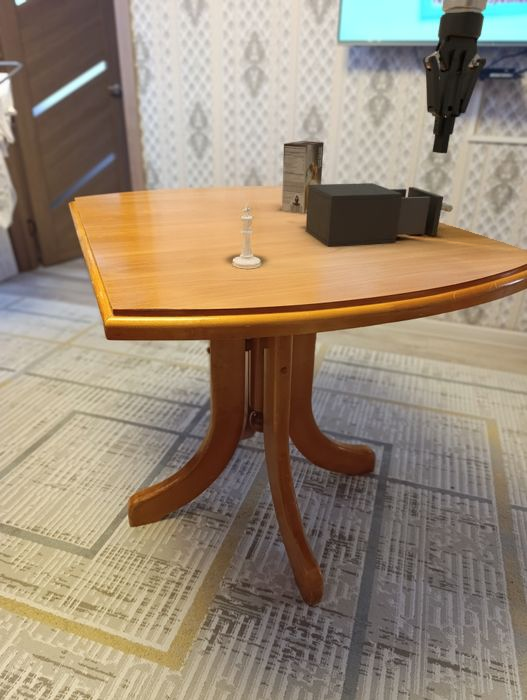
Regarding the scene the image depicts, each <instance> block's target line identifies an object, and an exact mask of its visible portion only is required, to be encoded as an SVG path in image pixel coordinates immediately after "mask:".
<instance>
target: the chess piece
mask: <svg viewBox="0 0 527 700" xmlns="http://www.w3.org/2000/svg"><path fill="white" fill-rule="evenodd" d="M252 211H253V208H251V207H250V204H245V206H244V208H242V213H244V215H242V216H240V220H241V223H242V227H243V229H241V230H240V234H243V241H242V248H241V249H242V250H241V253H240V254H239V256H236V257H234V258H233V259H232V263H231V265H232V266H233V267H235V268H238V269H245V270H246V269H247V270H248V269H256V268H259V267H261V266H262V263H261V261H262V260H261V259H260V258H259V257H256V256H254V253H252V245H251V236H250V235H251V234H254V230H253V229H251V226H252V224H253V223H252V222H253V220H254V217H253V216H252V215H250V212H252Z"/></svg>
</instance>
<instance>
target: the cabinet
mask: <svg viewBox="0 0 527 700" xmlns="http://www.w3.org/2000/svg"><path fill="white" fill-rule="evenodd" d="M390 189H391V188H387V187H384V186H382V185H379V184H376V183H373V182H371V183H369V182H367V183H364V182H363V183H362V182H361V183H329V184H328V183H325V184H322V183H321V184H320V185H309V187H308V204H307V213H306V221H305V232H307V233H308V234H309V235H311V236H312V237H314V238H315V239H317V240H318V241H319V242H321V243H322V244H323V245H324V246H326V247H328V248H330V247H347V246H365V245H379V244H380V245H382V244H384V245H385V244H395V243H397V242H396V241H397V236H398V235H397V228H398V221H399V214H400V207H401V200H402V194H401V193H399V192H396V191H393V190H390Z"/></svg>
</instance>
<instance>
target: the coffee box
mask: <svg viewBox="0 0 527 700" xmlns="http://www.w3.org/2000/svg"><path fill="white" fill-rule="evenodd" d="M324 144H325V142H324V141H306V140H299V141H292V142H286V143H283V161H282V163H283V164H282V193H281V194H282V195H281V197H282V199H281V211H284V212H292V213H297V214H307V204H308V187H309V185H320V184H322V176H323V175H322V174H323V159H324V158H323V157H324V146H325V145H324Z"/></svg>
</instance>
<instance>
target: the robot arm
mask: <svg viewBox="0 0 527 700" xmlns="http://www.w3.org/2000/svg"><path fill="white" fill-rule="evenodd" d="M487 4H488V0H442V7H441V11H442V12H443V13H444V14H442V15H441V16H440V18H439V25H438V30H437V31H438V33H437V38H438V42H437V44H436V46H435V48H434V52H432V53H431V54H430V55H428V56H427V55H426V56H424V57H423V58H422V65H423V67H424V70H425V83H426V84H425V87H426V90H425V91H426V112H427V113H429V114H431V115H432V117H434V123H433V129H432V132H433V134H432V135H434V140H433V146H432V153H435V154H436V153H437V154H448V150H449V143H450V139H451V138H450V137H451V136H452V135H453V133H454V129H455V123H456V118H459V117H460V116H461V114H465V113H466V111H467V109H468V106H469V105H470V101H471V98H472V96H473V93H474V91H475V87H476V85H477V82H478V79H479V76H480V73H481V71H482V70H483V69H484V67H485V65H486V64H487V59H486V58H481V56H480V55H479V54H478V51H479V47H478V41H479V39H480V38H481V36H482V31H483V25H484V19H485V15H484V14H483V13H482V12H484V11H485V10H487Z"/></svg>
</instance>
